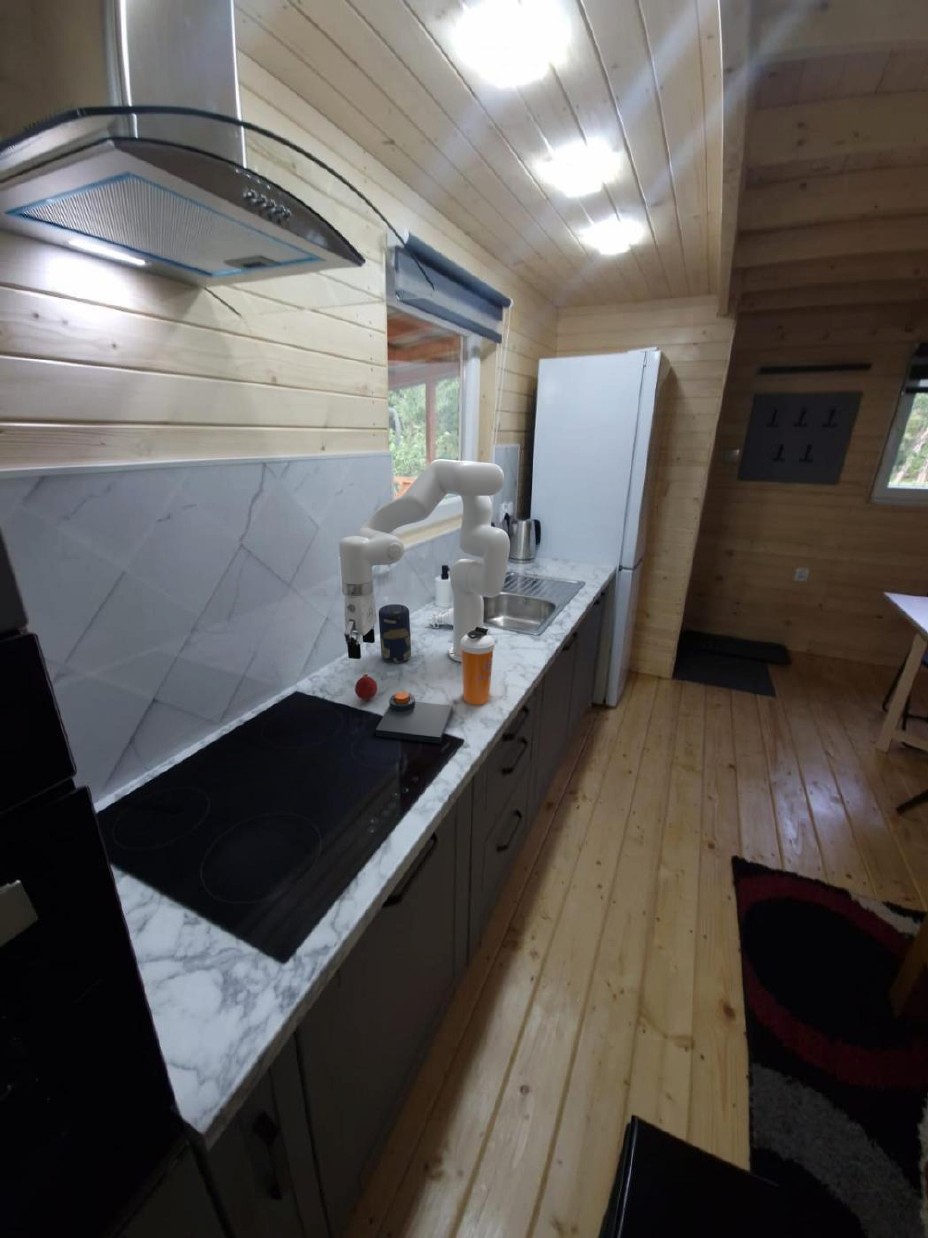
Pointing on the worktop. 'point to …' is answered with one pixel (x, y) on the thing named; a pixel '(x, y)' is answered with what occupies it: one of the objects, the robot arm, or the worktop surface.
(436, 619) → the rocket engine
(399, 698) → the button
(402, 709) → the scale
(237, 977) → the worktop surface
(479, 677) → the shaker bottle
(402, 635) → the canister
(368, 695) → the onion
